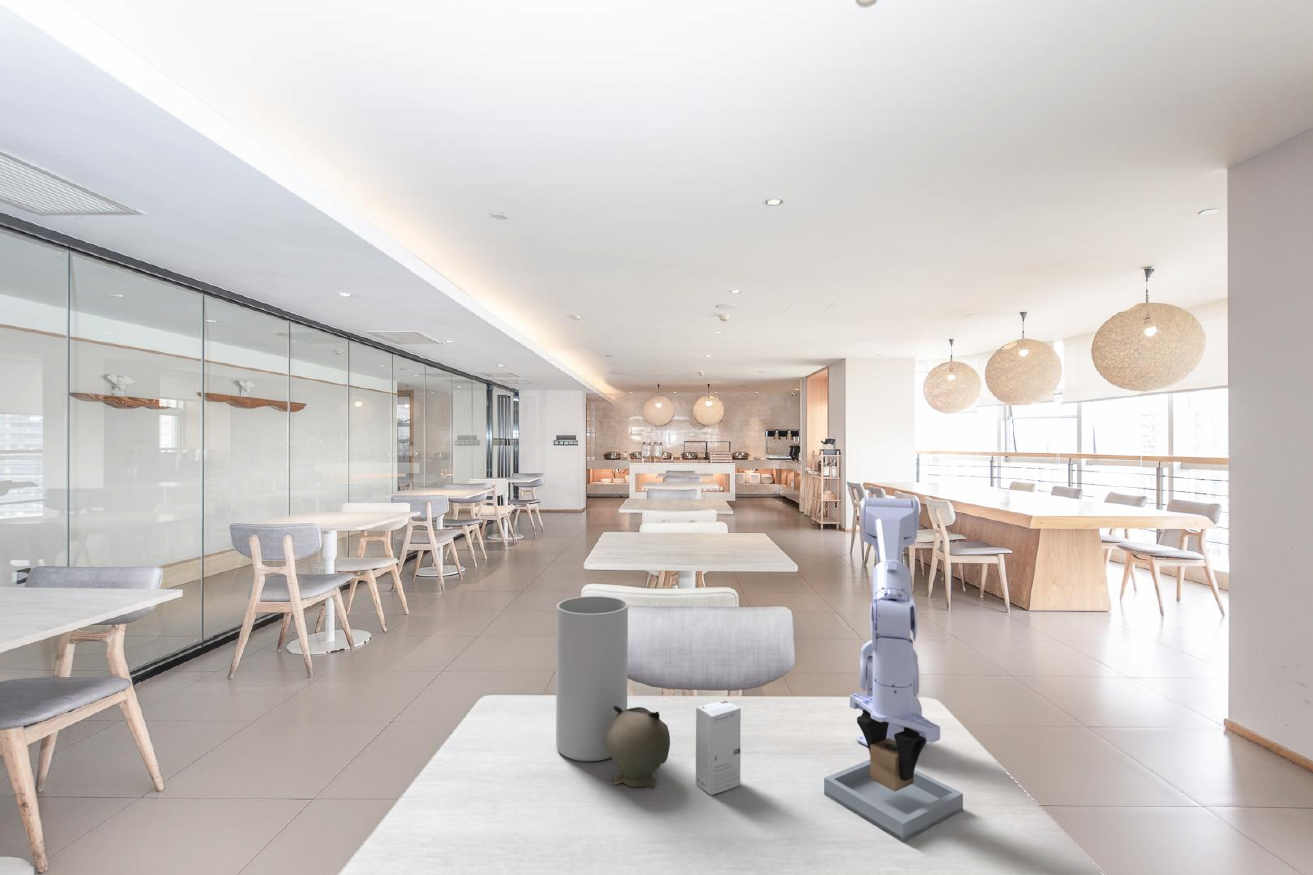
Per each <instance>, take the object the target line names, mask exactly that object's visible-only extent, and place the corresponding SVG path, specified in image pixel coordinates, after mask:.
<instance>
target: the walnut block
mask: <svg viewBox="0 0 1313 875" xmlns="http://www.w3.org/2000/svg"><path fill="white" fill-rule="evenodd" d="M869 756H870V757H869V758H870V759H869V760H870V778H871V779H872V780H874V781H876V782H878V783H880V784H882V785H883V786H885V787H887V788H889V789H891V790H893V791H894V792H895V791H898V790H900V789H902V788H904V787H907V786H909V785H911V784H913V783H914V774H913V778H911V779H909V780H907V781H903V780H901V779H900V773H899V754H898V748H897V744H896V741H894V740H892V739H890V738H888V739H885V740H883V741H880V742H877V743H875V744H872V745H870V752H869Z"/></svg>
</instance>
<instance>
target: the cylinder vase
mask: <svg viewBox="0 0 1313 875" xmlns="http://www.w3.org/2000/svg"><path fill="white" fill-rule="evenodd" d="M628 616H629V603H628V602H627V601H626V600H624V599H621V598H618V597H612V596H604V595H603V596H602V595H600V596H599V595H596V596H595V595H590V596H589V595H588V596H577V597H571V598H568V599H564V600H562V601H559V602H558V603H557V604H556V688H555V689H556V692H555V693H556V695H555V697H556V698H555V699H556V700H555V702H556V703H555V705H556V706H555V709H556V712H555V719H556V722H555V746H556V749H557V750H558V752H560V754H561V755H562V756H564V757H566V758H568V759H570V760H574V761H580V762H599V761H604V760H607V759H612V758H611V756H610V754H609V753H608V751H607V747H606V741H605V738H606V733H607V729H608V727H609V724H610V722H611V721H612V719H613V718H614V717H615V716H616V714H617V713H618V712H617V711H615V710H614V708H613V707H614V706H617V707H619V708H620V709H621V710H623V711H624V710H627V709H628V659H629V658H628V652H629V651H628V649H629V648H628V645H629V643H628V642H629V640H628V639H629V635H628V633H629V632H628V631H629V630H628V629H629V624H628V623H629V617H628Z"/></svg>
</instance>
